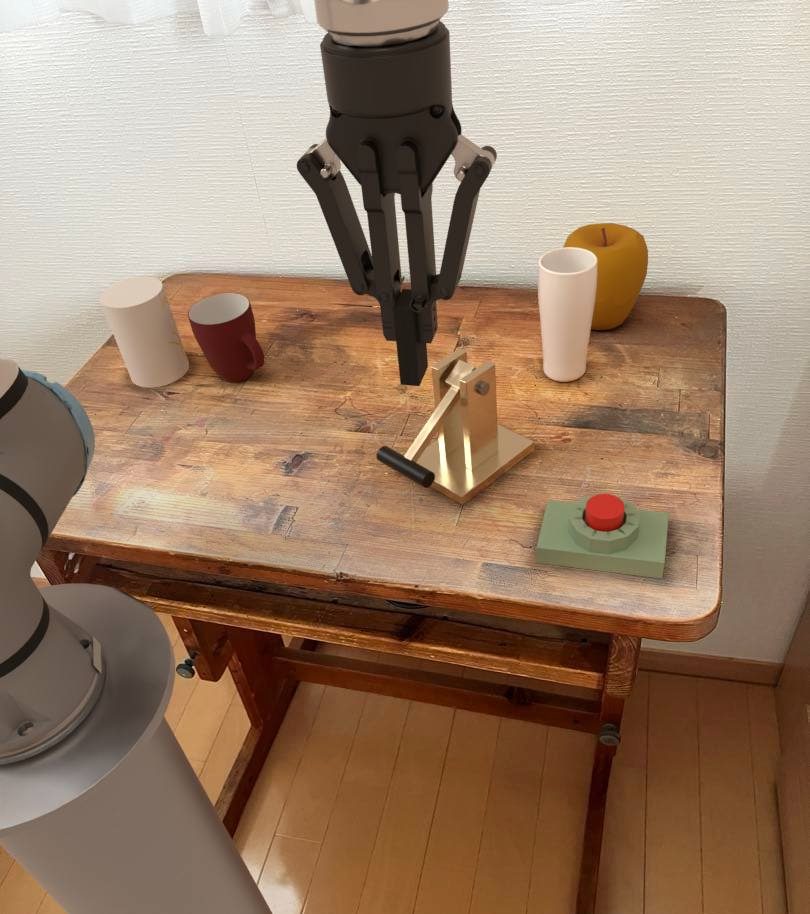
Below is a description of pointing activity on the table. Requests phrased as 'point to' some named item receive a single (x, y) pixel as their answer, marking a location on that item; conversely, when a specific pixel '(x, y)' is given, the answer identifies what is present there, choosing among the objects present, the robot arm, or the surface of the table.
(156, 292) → the cup
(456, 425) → the power switch
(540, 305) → the drinking glass
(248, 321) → the mug
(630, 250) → the apple
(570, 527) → the control pad
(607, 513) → the stop button
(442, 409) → the lever
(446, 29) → the robot arm
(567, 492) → the table surface
